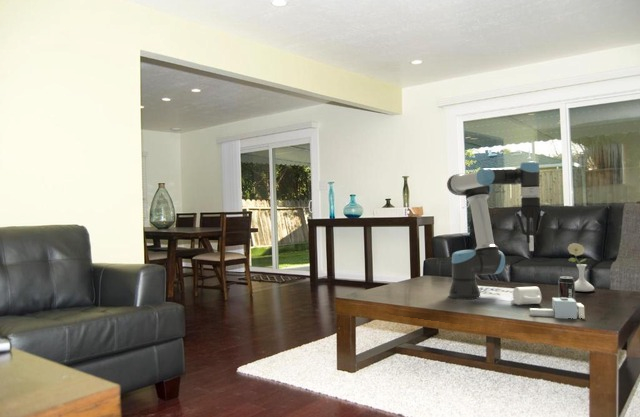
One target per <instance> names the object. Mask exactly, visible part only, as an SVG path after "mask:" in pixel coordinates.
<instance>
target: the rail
mask: <svg viewBox="0 0 640 417" xmlns="http://www.w3.org/2000/svg"><path fill="white" fill-rule="evenodd" d="M576 304H577V319H579V320H581V318H582V320H585V319H586V318H585V306H584V304H582V303H581V302H576ZM529 315H530V316H531V317H551V318H552V317H553V318H555V310H554V309H552V308H532V307H529Z"/></svg>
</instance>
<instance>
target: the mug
mask: <svg viewBox="0 0 640 417" xmlns="http://www.w3.org/2000/svg"><path fill="white" fill-rule="evenodd" d="M512 297H513V301H514V303H515V305H518V306H519V305H522V306H523V305H539V304H540V303H541V302H542V291H541V290H540V287H538V286H516V287H514V288H513V290H512Z"/></svg>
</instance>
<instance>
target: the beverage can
mask: <svg viewBox="0 0 640 417" xmlns="http://www.w3.org/2000/svg"><path fill="white" fill-rule="evenodd" d="M575 282H576V281H575V279H574V277H573V276H567V275H566V276H565V275H563V276H559V278H558V283H557V284H558V298H560V297H564V298H573V299H574V300H575V301H576V291H575Z"/></svg>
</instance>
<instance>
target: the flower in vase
mask: <svg viewBox="0 0 640 417" xmlns="http://www.w3.org/2000/svg"><path fill="white" fill-rule="evenodd" d="M567 250H568V252H569V254H570V255H571V256H572V255H574V256H575V257H570V258H568V259H567V261H568V262H573V263H574V262H577V264H576V265H575V266H576V267H577V269H578V273H579V274H578V279H577V280H576V281H575V292H583V293H584V292H585V293H587V292H588V293H589V292H592V291H594V290H595V286H593V285H592V284H591V283H590V282H589V281H587V280H586V278H585V269H586V267H587V266H588V264H583V263H582V262H585V261H586V260H587V258H584V259H580V261H579V260H578V259H577V257H578V256H581V255H583V254H584V253H585V248H584V246H583V245H582V244H580V243H576V242H573V243H570V244H569V245H568V247H567Z"/></svg>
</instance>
